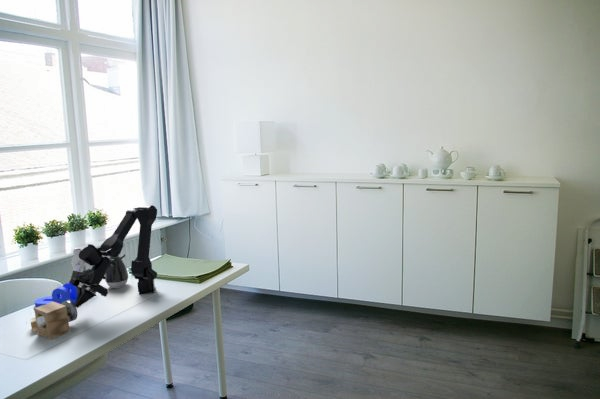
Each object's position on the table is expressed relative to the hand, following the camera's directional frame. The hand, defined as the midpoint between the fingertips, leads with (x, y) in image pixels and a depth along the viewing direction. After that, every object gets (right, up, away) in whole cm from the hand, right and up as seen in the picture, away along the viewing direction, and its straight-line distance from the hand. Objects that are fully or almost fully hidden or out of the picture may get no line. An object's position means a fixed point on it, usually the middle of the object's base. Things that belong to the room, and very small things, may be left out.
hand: (76, 307), depth 173 cm
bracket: (-19, -4, +21) cm, 29 cm away
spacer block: (-13, -8, -2) cm, 15 cm away
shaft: (-4, -6, -6) cm, 9 cm away
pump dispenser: (0, 0, +40) cm, 40 cm away
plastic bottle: (-14, -1, +36) cm, 38 cm away
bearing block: (-5, -8, -7) cm, 11 cm away
